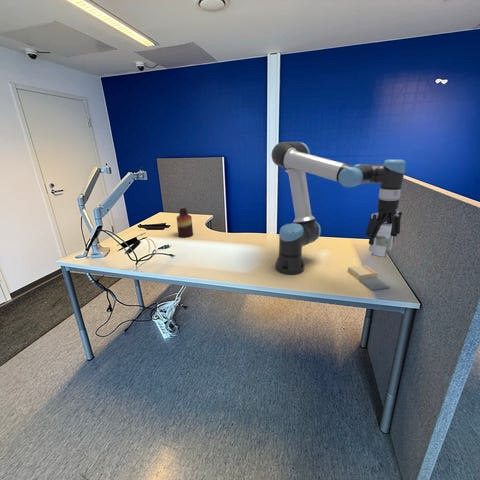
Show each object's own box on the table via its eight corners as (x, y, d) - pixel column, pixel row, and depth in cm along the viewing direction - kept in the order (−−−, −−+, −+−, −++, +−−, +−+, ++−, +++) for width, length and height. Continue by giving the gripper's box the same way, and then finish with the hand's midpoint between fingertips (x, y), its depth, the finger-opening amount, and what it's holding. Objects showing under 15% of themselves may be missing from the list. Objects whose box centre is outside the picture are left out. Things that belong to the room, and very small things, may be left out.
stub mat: (372, 290, 114) (372, 289, 114) (359, 281, 122) (359, 280, 122) (389, 288, 116) (389, 286, 115) (375, 278, 124) (375, 277, 124)
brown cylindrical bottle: (181, 238, 184) (178, 211, 177) (176, 234, 193) (173, 208, 186) (195, 236, 189) (192, 209, 182) (190, 232, 198) (187, 206, 191)
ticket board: (358, 280, 123) (359, 275, 122) (347, 271, 131) (348, 267, 130) (376, 277, 125) (377, 272, 124) (364, 269, 133) (365, 264, 132)
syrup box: (386, 253, 114) (392, 222, 109) (385, 258, 110) (392, 226, 105) (372, 251, 117) (377, 220, 112) (371, 255, 112) (376, 224, 107)
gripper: (373, 202, 99) (364, 256, 107) (417, 198, 103) (406, 250, 111) (360, 199, 106) (353, 249, 114) (402, 195, 110) (393, 244, 118)
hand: (379, 250), depth 113 cm, fingers closed on syrup box, 8 cm apart
